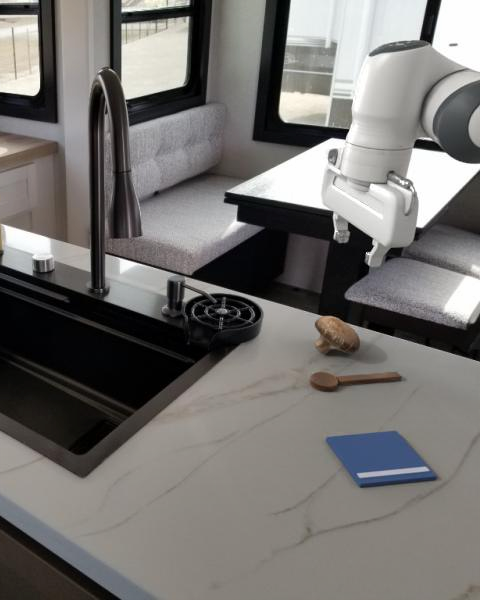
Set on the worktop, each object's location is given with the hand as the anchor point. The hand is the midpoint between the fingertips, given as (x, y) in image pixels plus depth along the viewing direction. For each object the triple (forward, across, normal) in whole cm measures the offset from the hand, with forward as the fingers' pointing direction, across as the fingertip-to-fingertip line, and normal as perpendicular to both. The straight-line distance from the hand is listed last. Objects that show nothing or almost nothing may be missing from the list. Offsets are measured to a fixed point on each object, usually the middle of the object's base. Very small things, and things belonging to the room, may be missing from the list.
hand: (355, 252), depth 97 cm
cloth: (+18, -25, +7) cm, 32 cm away
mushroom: (+18, +1, 0) cm, 18 cm away
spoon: (+18, -8, +2) cm, 20 cm away
